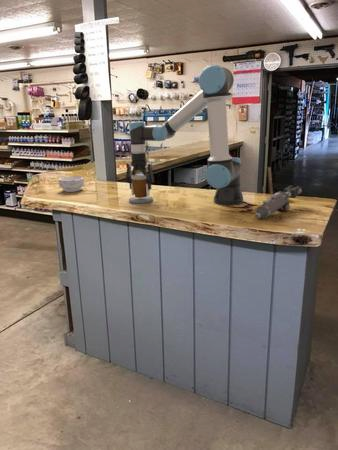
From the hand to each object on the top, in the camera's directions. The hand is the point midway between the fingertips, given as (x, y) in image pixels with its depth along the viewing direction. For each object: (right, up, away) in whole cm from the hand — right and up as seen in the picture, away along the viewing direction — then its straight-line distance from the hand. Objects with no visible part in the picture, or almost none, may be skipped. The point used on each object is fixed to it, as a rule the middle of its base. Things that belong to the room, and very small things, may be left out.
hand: (140, 195), depth 199 cm
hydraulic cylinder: (+65, -10, -28) cm, 71 cm away
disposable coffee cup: (0, -1, 0) cm, 1 cm away
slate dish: (0, -3, +1) cm, 3 cm away
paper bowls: (-46, +5, +33) cm, 57 cm away
